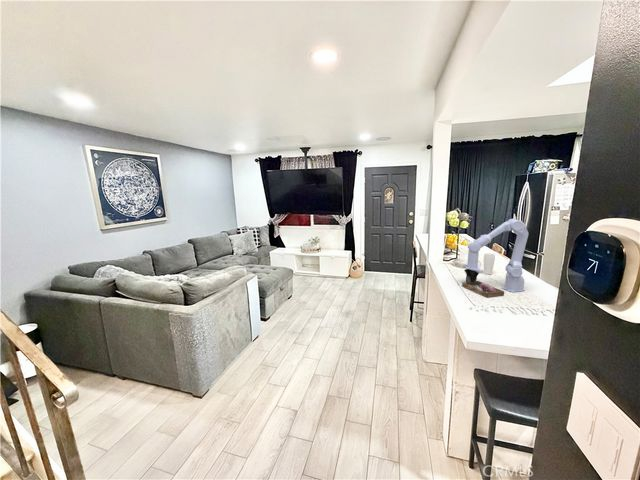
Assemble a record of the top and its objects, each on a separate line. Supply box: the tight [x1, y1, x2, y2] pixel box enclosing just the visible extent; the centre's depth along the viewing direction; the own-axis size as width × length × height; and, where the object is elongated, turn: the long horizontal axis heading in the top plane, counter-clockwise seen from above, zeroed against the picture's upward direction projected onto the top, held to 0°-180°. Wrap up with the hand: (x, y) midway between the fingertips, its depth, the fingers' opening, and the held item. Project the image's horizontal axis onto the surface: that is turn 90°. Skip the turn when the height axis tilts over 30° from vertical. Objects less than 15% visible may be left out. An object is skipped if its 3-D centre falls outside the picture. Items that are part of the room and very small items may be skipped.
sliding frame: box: [461, 275, 505, 298], centre depth 159 cm, size 20×12×6 cm, turn 12°
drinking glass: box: [483, 252, 496, 275], centre depth 190 cm, size 7×7×15 cm
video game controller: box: [478, 282, 497, 293], centre depth 155 cm, size 10×5×7 cm, turn 12°
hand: (471, 280), depth 167 cm, fingers closed on sliding frame, 2 cm apart
